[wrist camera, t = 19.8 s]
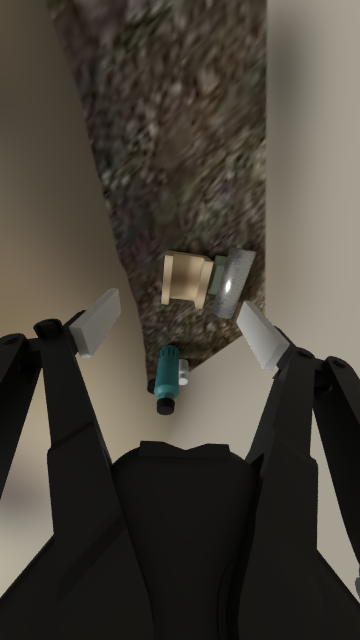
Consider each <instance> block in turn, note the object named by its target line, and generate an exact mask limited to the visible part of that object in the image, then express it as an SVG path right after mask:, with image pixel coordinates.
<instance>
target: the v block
mask: <svg viewBox="0 0 360 640" xmlns="http://www.w3.org/2000/svg"><path fill="white" fill-rule="evenodd" d="M226 259H227V257H224V256H218V255H216V256H215V260H214V264H213V268H212V272H211V276H210V280H209V284H208V288H207V293H208V294H213V295H216V294H217V291H218V287H219V284H220V280H221V277H222V273H223V270H224V266H225V263H226Z"/></svg>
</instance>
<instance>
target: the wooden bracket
mask: <svg viewBox="0 0 360 640" xmlns="http://www.w3.org/2000/svg"><path fill="white" fill-rule="evenodd" d="M213 263H214V262H213V261H212V260H211V259H210V258H209V257H207V256H202V255H196V254H189V253H183V252H176V251H170V250H168V251H167V253H166V255H165V265H164V277H163V290H162V302H161V304H168V302H169V298H177V299H185V300H193V301H194V302H195V307H196V308H200V309H202V308H203V303H204V299H205V295H206V291H207V287H208V283H209V279H210V275H211V271H212V267H213Z"/></svg>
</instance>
